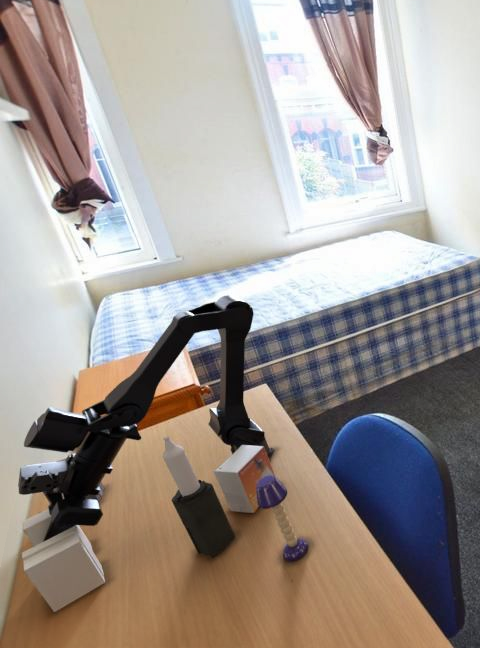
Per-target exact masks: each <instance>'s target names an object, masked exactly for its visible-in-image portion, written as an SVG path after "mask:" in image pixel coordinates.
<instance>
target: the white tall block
mask: <svg viewBox="0 0 480 648" xmlns="http://www.w3.org/2000/svg"><path fill="white" fill-rule="evenodd" d="M51 520H52V517H51V515H50V514H49V509H48V508H47V509H46V510H43V511H41V512H39V513H37V514H35V515H33V516H30V517H29V518H26V519H25V520H23V521H22V522H21V524H22V525H21V526H22V532H23V533H24V534H25V535H26V537H27V539H28V540H29V541H30V542H31V543H32V545H33V547H34V546H36V545H38V544H40V543H42V542H43V540H44V538H45V535H46V532H47V530H48V527H49V525H50V522H51ZM75 526H77V527H78V529H79V530H80V532H81V534H82V535H83V537H84V538H85V540H86V542H87V543H88V545H89V546H90V548H91V549H92V551H93V552H94V550H93V547H92V543H91V541H90V540H89V538H88V537H87V536H86V534H85V532H84V531H83V530H82V528H81V525H75Z"/></svg>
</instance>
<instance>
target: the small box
mask: <svg viewBox="0 0 480 648" xmlns="http://www.w3.org/2000/svg"><path fill="white" fill-rule="evenodd" d="M213 473H214V476H215V477H216V481H217V483H218V485H219V487H220V489H221V492H222V494H223V496H224V498H225V501H226V503H227V505H228V507H229V510H230V511H231V512H239V513H248V514H255V512H256V511H257V510H258V508H260V507H259V506H258V503H257V491H256V484H257V482H258V481H259V480H260V479H261V478H262V477H264V476H267V475H273V476H275V477H276V475H275V472H274V469H273V466H272V463H271V461H270V457H269V458H268V455H267V453H266V450H265V447H264V446H252V445H241V446H240V447H239V449H238V450H237V451H235V452H234V453H233V454H232V453H231V455H230V456H229V457H228V458H227V459H226V460H225V461H223V463H221V464H220V465H219V466H218V467H217V468H216V469H214V471H213Z"/></svg>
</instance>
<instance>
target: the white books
mask: <svg viewBox="0 0 480 648" xmlns="http://www.w3.org/2000/svg"><path fill="white" fill-rule="evenodd" d="M92 550H93V548H92V549H91V548H90V546H89V545H88V543H87V542H86V540H85V538H84V537H83V535H82V534H81V532H80V530H79V529H78V527H77V526H74V527H72V528H70V529H68V530H66V531H64V532H62V533H60V534H58V535H56V536H54V537H52V538H50V539H48V540H46V541H44V542H42V543H40V544H38V545H36V546H34V545H33V546H32V547H30V548H29V549H27V550H24V551H23V552H22V553H21V556H22V557H21V558H22V560H23V571H24V573H25V574H26V575H27V577H28V579H29V580H30V581H31V582H32V584H33V585H34V586H35V588H36V589H37V590H38V592H39V593H40V595H41V596H42V598H43V599H44V600H45V602H46V603H47V605H48V606H49V607H50V609H51V610H52V611H53V613H56V612H57V611H60V610H61V609H63V608H64V607H66V606H68V605H70V604H71V603H73V602H75V601H76V600H78V599H80V598H81V597H83V596H85V595H86V594H88V593H90V592H92V591H94V590H95V589H97V588H98V587H100V586H102V585H104V584H105V583H106V581H105V574H104V570H103V566H102V564H101V562H100V561H99V559H98V556H96V554H95V553H94V550H93V551H92Z"/></svg>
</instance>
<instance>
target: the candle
mask: <svg viewBox="0 0 480 648" xmlns="http://www.w3.org/2000/svg"><path fill="white" fill-rule="evenodd" d="M162 440H163V441H164V452H163V455H162V458H163V461H164V462H165V464H166V467H167V469H168V470H169V472H170V475H171V477H172V478H173V481H174V482H175V485H176V487H177V489H178V490H177V491H176V493H175V495H173V496H172V498H171V502H172V505H173V507H174V509H175V510H176V513H177V515H178V516H179V518H180V520H181V523H182V524H183V527H184V528H185V531H186V533H187V534H188V536H189V539H190V541H191V543H192V545H193V546H194V548H195V550H196V553H197V554H199V555H201V554H203V555H206V556H208V557H209V558H215V557H217V556H219V555H220V554H221V553H222V552H223V551H224V550H225V549H226V548H227V547H228V546H229V545H230V544H231V543H232V542H233V541H234V540H235V538H236V534H235V532H234V530H233V528H232V525H231V524H230V522H229V520H228V517H227V515H226V512H225V511H224V508H223V506H222V503H221V501H220V499H219V497H218V494H217V492H216V490H215V487H214V486H213V484H212V483H210V482H207V481H205V480H202V479H198V477H197V475H196V473H195V470H194V469H193V466H192V464H191V462H190V459H189V458H188V456H187V453H186V451H185V449H184V448H183V447H182V446H180V445H178V444H176V443H175V442H173V440H172V439H170V435H164V436H163V438H162Z"/></svg>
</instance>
